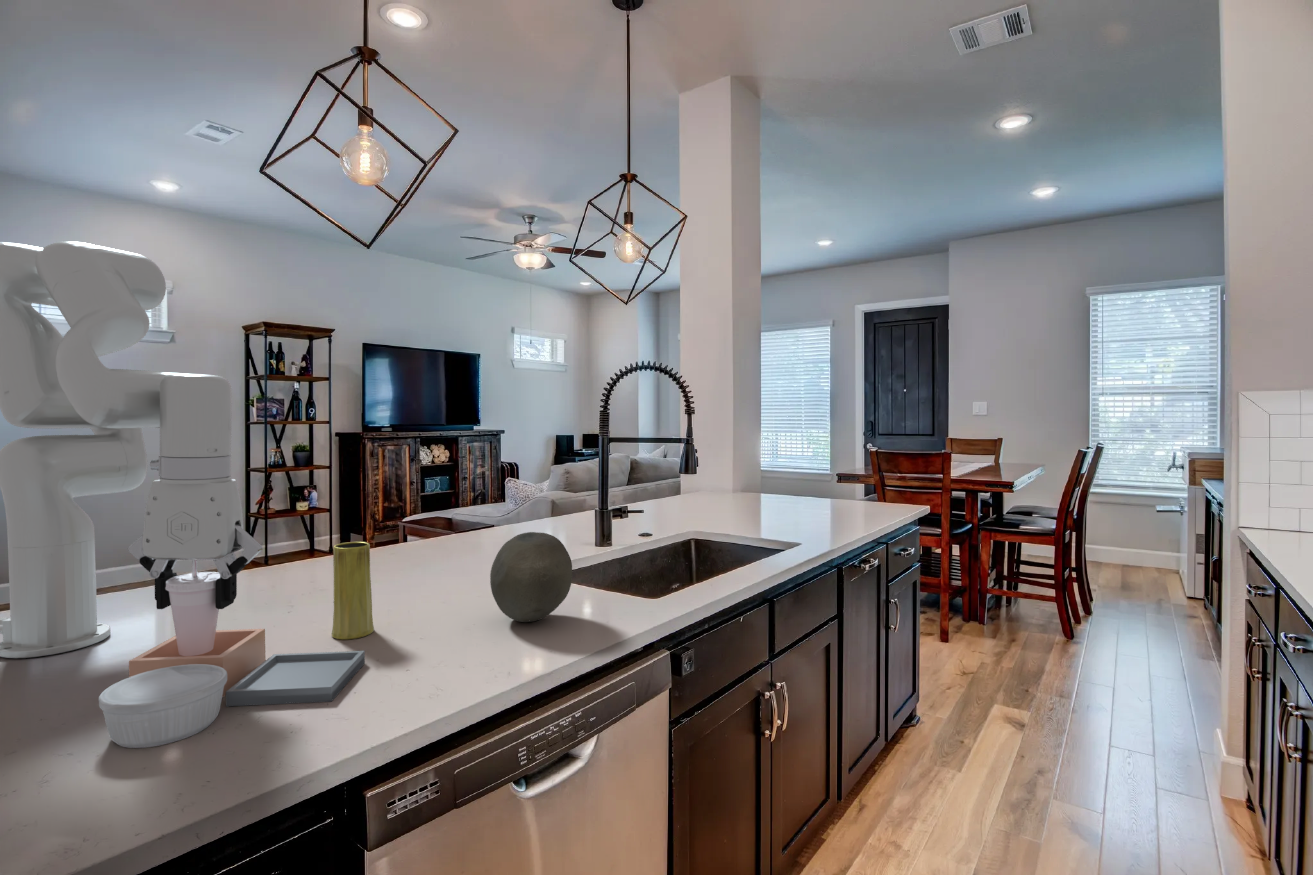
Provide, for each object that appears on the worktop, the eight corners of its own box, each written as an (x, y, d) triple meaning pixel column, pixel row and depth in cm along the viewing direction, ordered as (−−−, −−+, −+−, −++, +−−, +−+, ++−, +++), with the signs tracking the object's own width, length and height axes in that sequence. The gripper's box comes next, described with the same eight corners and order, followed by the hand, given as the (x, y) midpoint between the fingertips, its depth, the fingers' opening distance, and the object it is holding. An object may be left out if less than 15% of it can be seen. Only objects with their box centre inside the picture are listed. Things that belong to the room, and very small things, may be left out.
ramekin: (248, 705, 77) (247, 662, 77) (183, 754, 66) (182, 704, 66) (153, 706, 77) (152, 663, 76) (71, 756, 65) (69, 705, 65)
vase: (357, 641, 98) (356, 549, 98) (322, 638, 99) (321, 547, 99) (381, 628, 104) (380, 541, 104) (348, 625, 105) (347, 540, 105)
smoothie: (216, 637, 88) (216, 537, 88) (232, 650, 84) (232, 545, 83) (159, 650, 83) (158, 544, 83) (173, 664, 79) (173, 553, 79)
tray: (226, 706, 76) (225, 691, 76) (274, 666, 88) (273, 654, 88) (331, 701, 78) (331, 686, 78) (364, 663, 90) (364, 650, 90)
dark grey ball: (472, 630, 103) (471, 538, 103) (516, 605, 117) (516, 524, 116) (551, 639, 99) (550, 544, 99) (587, 612, 113) (587, 528, 112)
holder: (130, 701, 78) (128, 660, 77) (184, 667, 88) (183, 631, 88) (223, 697, 79) (222, 657, 79) (265, 663, 89) (264, 628, 89)
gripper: (101, 471, 78) (102, 615, 79) (252, 474, 80) (252, 615, 81) (143, 465, 85) (143, 597, 86) (281, 468, 87) (280, 597, 88)
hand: (196, 604), depth 83 cm, fingers closed on smoothie, 6 cm apart
